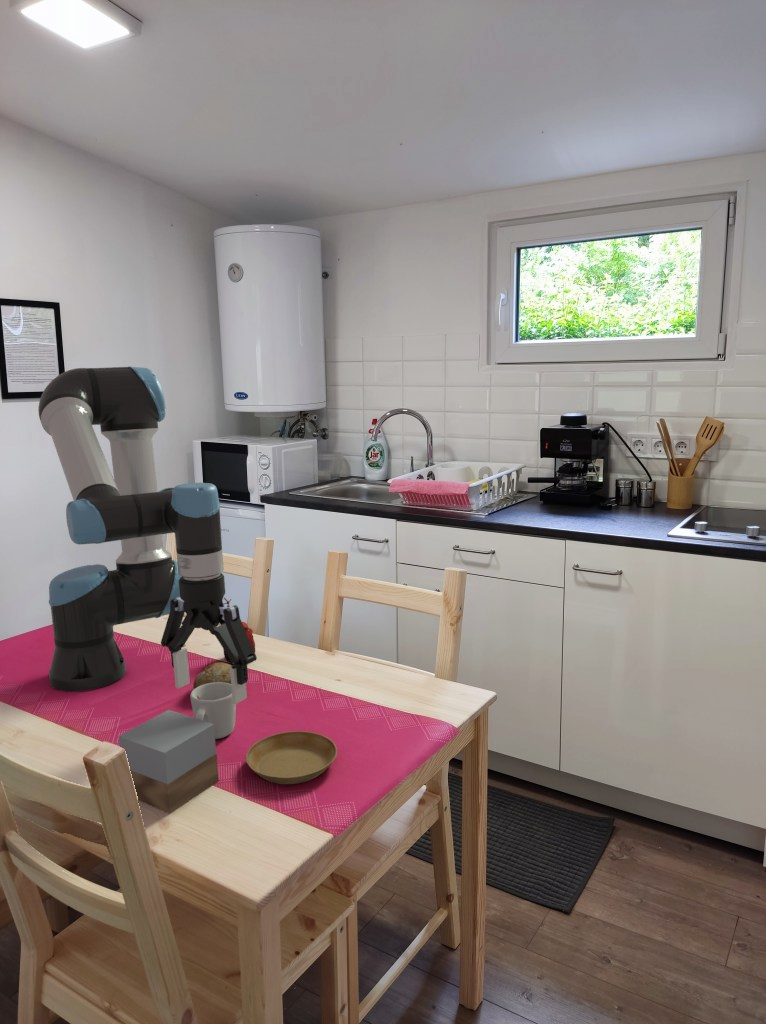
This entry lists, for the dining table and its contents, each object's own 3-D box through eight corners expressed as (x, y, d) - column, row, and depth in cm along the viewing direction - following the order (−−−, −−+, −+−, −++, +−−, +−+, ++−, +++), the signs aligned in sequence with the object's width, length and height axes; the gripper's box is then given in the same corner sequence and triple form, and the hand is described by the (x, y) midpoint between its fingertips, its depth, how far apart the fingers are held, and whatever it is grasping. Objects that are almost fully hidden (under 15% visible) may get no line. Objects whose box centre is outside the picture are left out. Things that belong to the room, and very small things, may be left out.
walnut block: (124, 796, 114) (121, 766, 113) (174, 766, 122) (171, 738, 121) (170, 815, 109) (167, 784, 108) (218, 782, 117) (216, 753, 116)
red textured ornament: (259, 662, 164) (255, 597, 161) (227, 668, 161) (223, 602, 158) (251, 651, 171) (248, 588, 168) (221, 656, 168) (216, 592, 165)
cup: (221, 754, 125) (218, 710, 124) (177, 750, 127) (174, 706, 125) (245, 724, 136) (243, 683, 134) (205, 720, 137) (202, 680, 136)
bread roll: (199, 721, 145) (200, 693, 140) (186, 683, 152) (187, 655, 148) (248, 710, 149) (251, 682, 145) (233, 673, 157) (236, 646, 152)
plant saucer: (294, 735, 131) (293, 722, 131) (356, 762, 122) (355, 748, 122) (227, 771, 120) (226, 756, 120) (290, 804, 111) (289, 788, 111)
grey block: (121, 766, 113) (118, 736, 112) (170, 738, 121) (168, 709, 120) (167, 784, 108) (164, 752, 107) (216, 753, 116) (214, 724, 115)
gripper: (133, 572, 129) (144, 687, 133) (241, 589, 116) (250, 716, 120) (166, 562, 135) (176, 672, 139) (272, 577, 122) (280, 698, 126)
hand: (210, 693), depth 129 cm, fingers open, 13 cm apart
